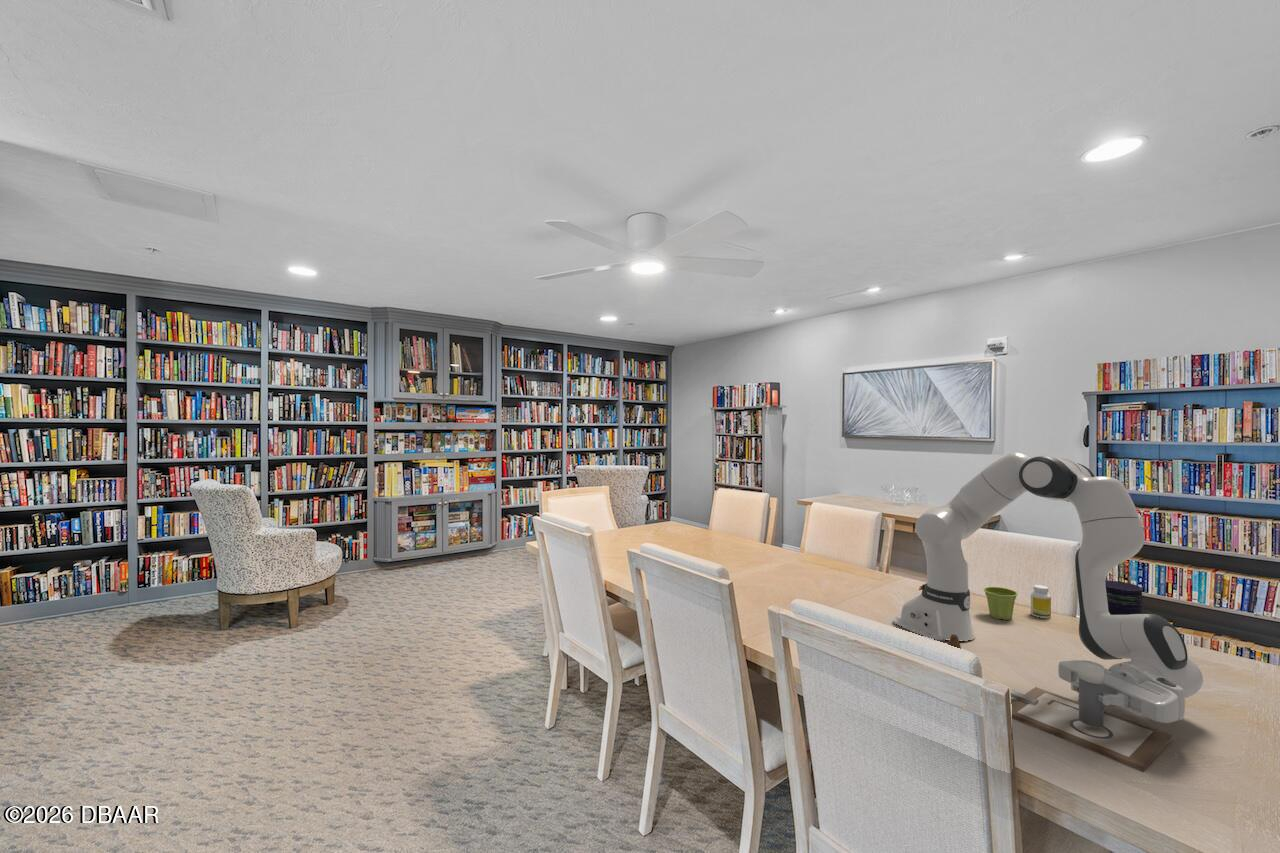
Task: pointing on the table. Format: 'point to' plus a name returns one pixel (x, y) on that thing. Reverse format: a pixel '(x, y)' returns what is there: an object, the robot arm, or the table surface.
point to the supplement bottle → (1040, 602)
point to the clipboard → (1090, 728)
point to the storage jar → (1123, 598)
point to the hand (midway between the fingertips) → (1087, 693)
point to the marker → (1091, 693)
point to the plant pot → (1000, 602)
